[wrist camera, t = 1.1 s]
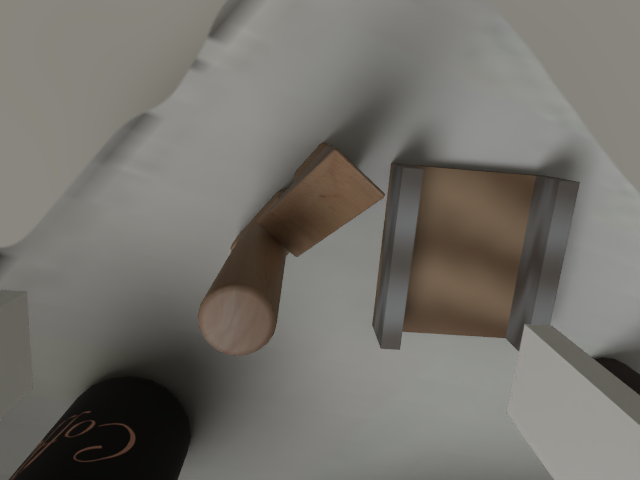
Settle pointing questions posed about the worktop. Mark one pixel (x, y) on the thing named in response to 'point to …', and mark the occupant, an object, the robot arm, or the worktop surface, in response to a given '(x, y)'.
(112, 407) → the coffee jar
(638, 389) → the bottle
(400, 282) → the metal-railed wooden board
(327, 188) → the brown upright wooden piece
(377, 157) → the worktop surface
